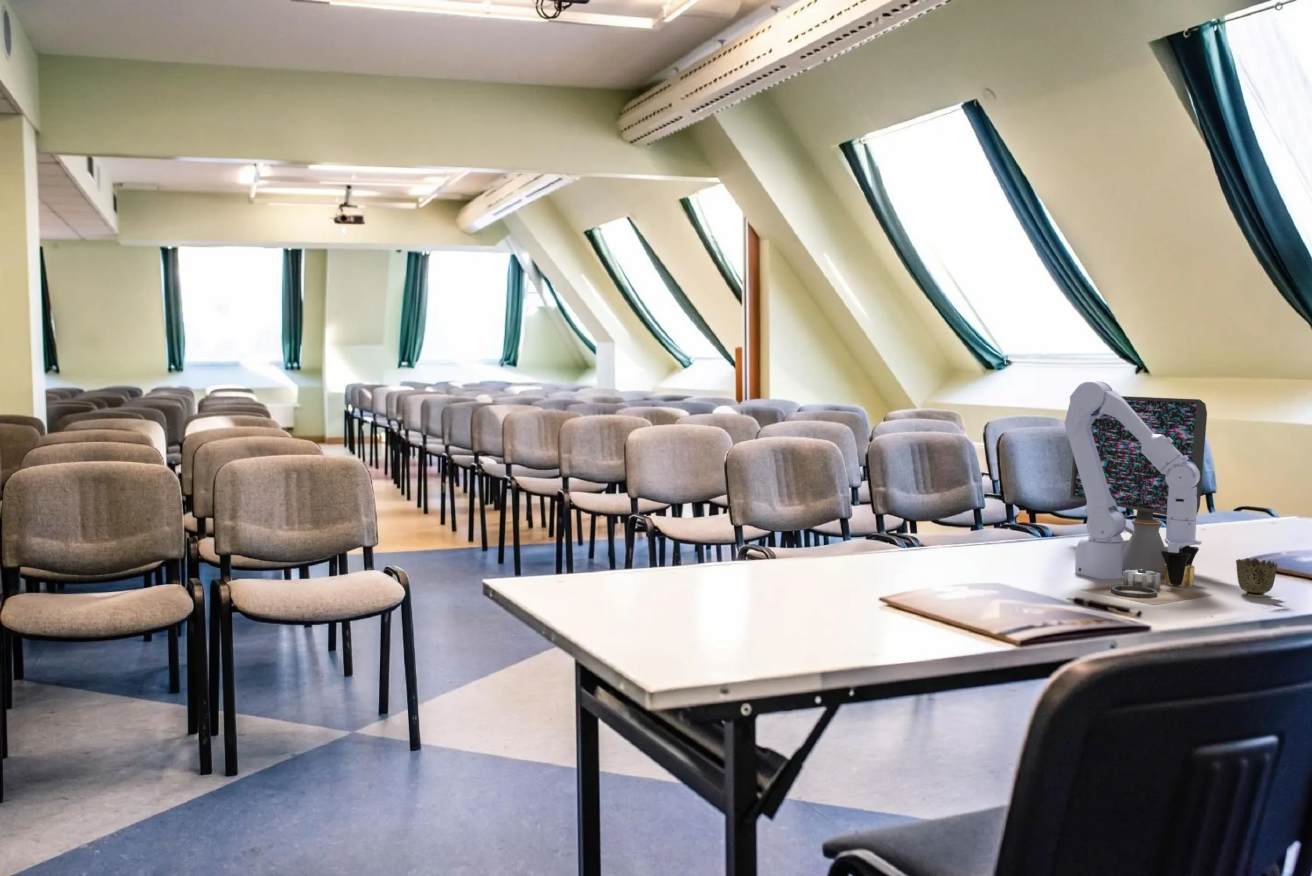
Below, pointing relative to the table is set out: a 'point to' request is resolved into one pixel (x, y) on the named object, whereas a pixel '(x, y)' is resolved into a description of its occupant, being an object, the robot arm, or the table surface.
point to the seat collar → (1150, 593)
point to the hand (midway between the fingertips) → (1178, 581)
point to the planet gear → (1187, 579)
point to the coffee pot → (1144, 547)
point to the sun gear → (1141, 578)
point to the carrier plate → (1162, 597)
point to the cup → (1256, 576)
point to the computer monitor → (1129, 467)
